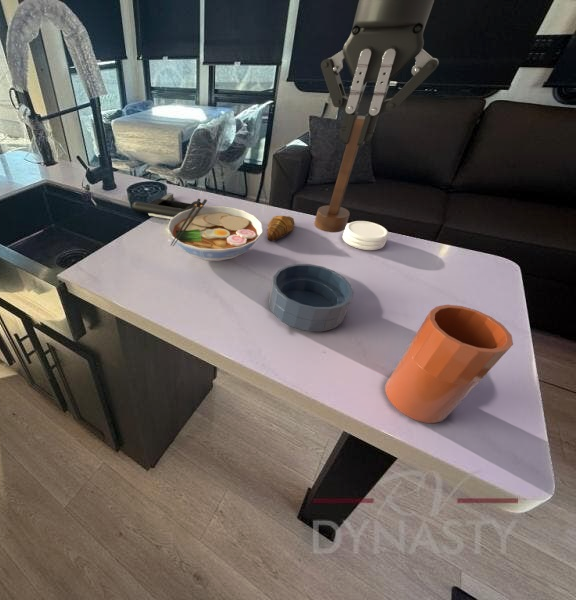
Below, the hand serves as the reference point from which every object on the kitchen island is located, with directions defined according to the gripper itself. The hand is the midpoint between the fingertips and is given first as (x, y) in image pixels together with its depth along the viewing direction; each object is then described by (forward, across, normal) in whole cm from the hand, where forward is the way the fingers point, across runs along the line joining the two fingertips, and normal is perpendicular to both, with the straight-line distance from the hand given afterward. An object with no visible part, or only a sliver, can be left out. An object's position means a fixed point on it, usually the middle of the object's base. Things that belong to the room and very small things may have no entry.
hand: (353, 143), depth 46 cm
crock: (+31, +20, -12) cm, 39 cm away
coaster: (+31, +5, +34) cm, 46 cm away
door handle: (+31, -50, +26) cm, 64 cm away
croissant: (+31, -15, +28) cm, 44 cm away
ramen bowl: (+31, -26, +10) cm, 42 cm away
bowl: (+31, 0, 0) cm, 31 cm away
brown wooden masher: (+13, 0, 0) cm, 13 cm away
